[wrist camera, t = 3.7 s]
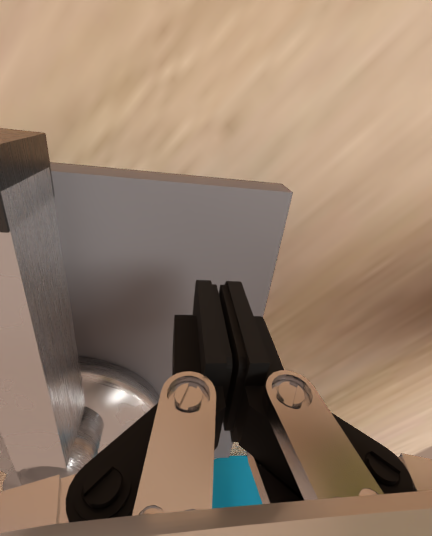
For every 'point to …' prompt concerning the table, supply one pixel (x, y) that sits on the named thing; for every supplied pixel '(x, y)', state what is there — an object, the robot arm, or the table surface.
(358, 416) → the table surface
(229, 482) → the mug
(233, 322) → the robot arm
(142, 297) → the stand base
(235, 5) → the table surface
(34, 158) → the lever
